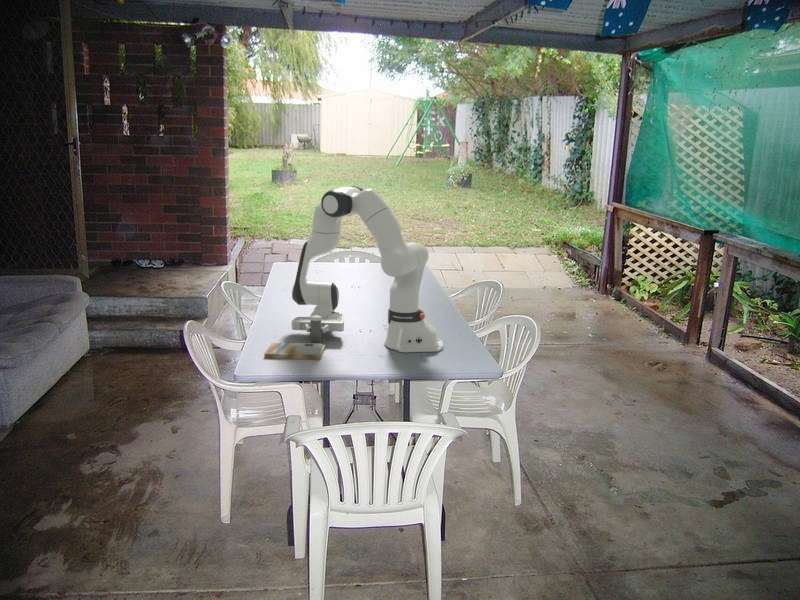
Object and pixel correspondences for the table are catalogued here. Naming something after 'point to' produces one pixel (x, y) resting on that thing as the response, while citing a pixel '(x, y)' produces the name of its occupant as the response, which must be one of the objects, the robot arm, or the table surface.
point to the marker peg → (315, 329)
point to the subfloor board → (289, 351)
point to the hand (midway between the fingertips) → (315, 330)
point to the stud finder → (310, 349)
